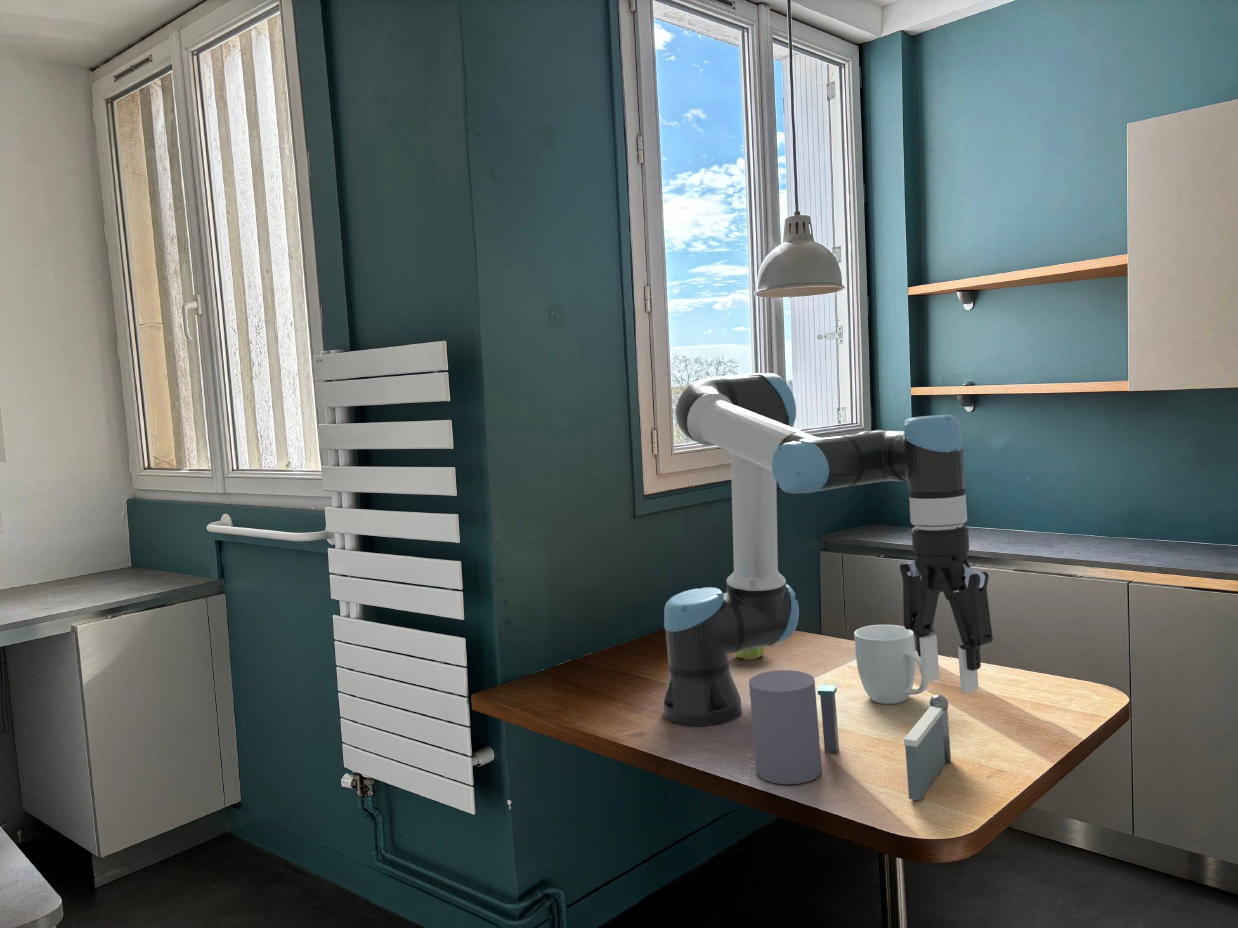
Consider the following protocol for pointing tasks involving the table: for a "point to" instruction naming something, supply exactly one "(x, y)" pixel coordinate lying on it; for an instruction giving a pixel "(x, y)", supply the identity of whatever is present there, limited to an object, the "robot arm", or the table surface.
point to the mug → (887, 662)
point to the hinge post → (943, 703)
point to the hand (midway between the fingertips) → (949, 685)
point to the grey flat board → (924, 752)
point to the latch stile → (829, 718)
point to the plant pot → (751, 653)
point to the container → (785, 726)
